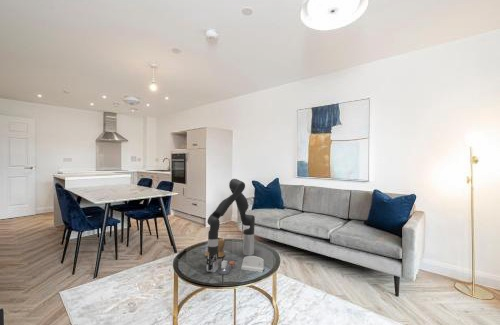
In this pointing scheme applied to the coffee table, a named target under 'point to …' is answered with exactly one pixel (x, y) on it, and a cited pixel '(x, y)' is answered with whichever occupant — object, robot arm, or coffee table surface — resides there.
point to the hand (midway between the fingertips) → (212, 267)
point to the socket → (213, 266)
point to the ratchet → (226, 267)
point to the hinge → (253, 263)
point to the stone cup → (219, 247)
